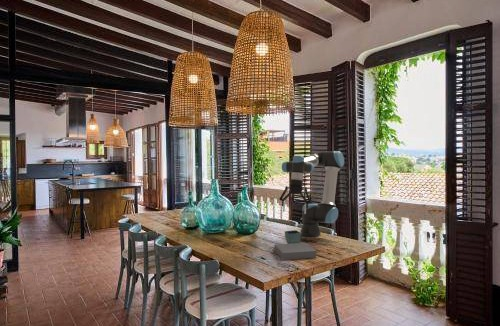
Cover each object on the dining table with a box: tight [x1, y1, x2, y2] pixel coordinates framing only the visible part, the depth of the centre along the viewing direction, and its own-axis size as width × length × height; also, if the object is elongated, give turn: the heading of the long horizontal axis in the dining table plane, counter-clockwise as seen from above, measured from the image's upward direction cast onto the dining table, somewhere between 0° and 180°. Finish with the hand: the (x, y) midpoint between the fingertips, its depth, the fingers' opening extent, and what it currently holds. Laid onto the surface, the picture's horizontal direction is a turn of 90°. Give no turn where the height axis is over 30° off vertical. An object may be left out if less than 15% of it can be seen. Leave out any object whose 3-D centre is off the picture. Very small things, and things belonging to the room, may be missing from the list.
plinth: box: [274, 242, 317, 261], centre depth 206 cm, size 20×20×4 cm
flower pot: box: [284, 230, 302, 244], centre depth 227 cm, size 9×9×9 cm
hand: (294, 212), depth 216 cm, fingers open, 13 cm apart
